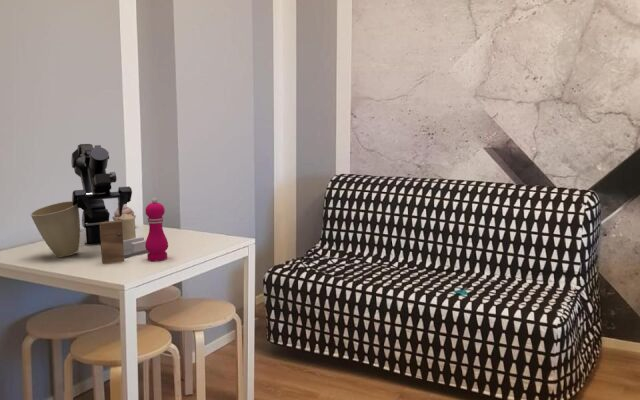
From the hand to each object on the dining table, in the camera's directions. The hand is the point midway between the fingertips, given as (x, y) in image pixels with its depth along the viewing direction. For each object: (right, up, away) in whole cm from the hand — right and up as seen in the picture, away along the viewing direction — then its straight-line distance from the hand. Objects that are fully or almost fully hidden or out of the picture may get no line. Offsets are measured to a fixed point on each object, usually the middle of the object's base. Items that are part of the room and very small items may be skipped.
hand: (106, 216), depth 223 cm
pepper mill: (+17, -14, -1) cm, 22 cm away
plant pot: (-15, -13, +5) cm, 20 cm away
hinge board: (+8, -12, +9) cm, 17 cm away
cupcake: (-8, -6, +50) cm, 51 cm away
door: (+4, -14, -4) cm, 15 cm away
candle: (0, -10, +26) cm, 28 cm away
